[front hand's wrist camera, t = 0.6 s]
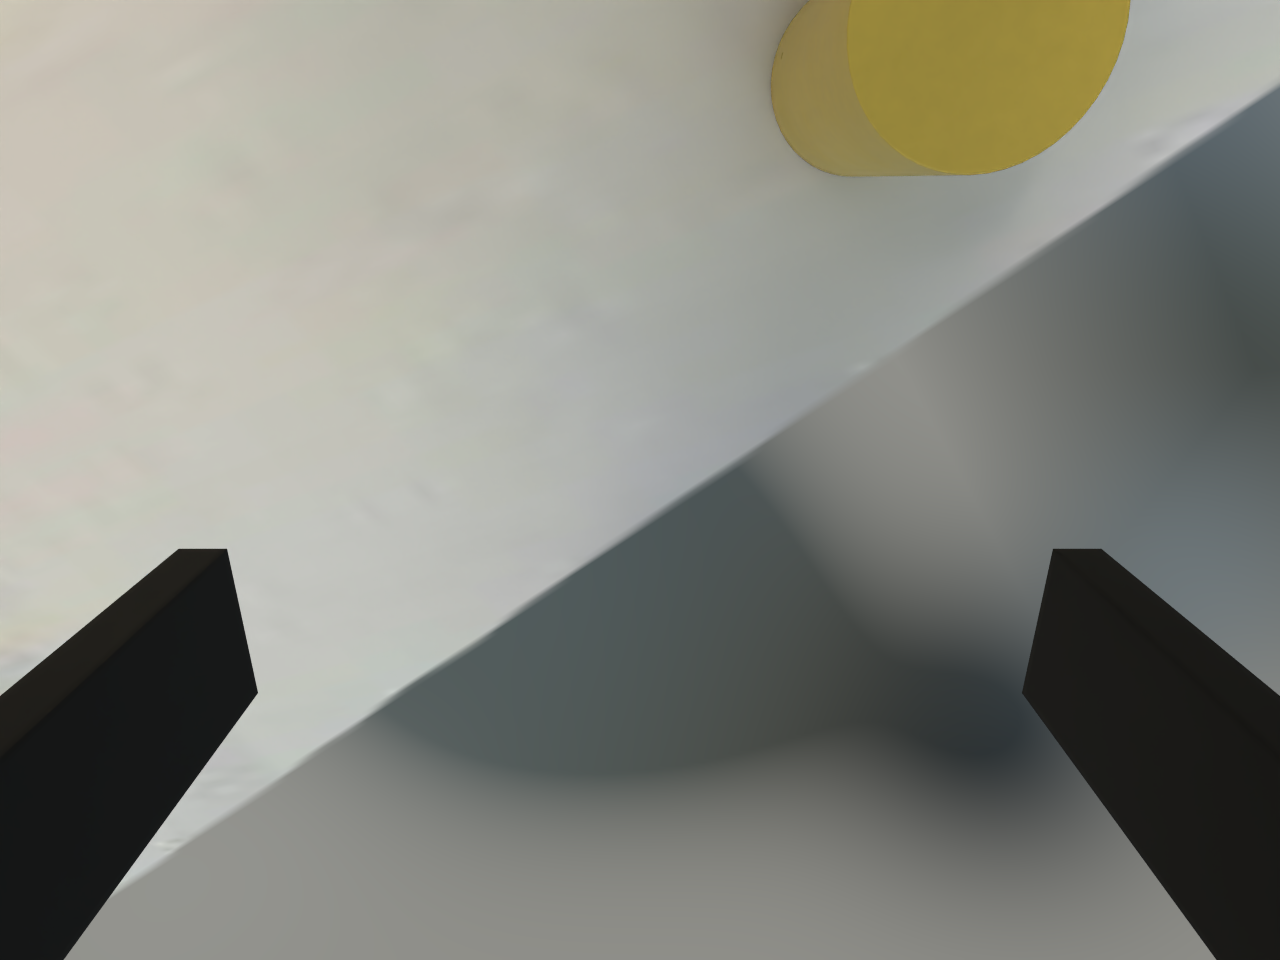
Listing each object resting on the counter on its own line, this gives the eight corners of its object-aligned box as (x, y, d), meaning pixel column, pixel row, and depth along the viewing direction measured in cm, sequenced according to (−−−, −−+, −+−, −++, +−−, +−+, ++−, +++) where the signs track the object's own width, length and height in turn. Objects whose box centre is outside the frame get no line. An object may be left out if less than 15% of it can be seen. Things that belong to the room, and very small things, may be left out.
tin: (734, 102, 31) (789, 59, 20) (852, -67, 29) (988, -222, 18) (866, 212, 32) (988, 229, 21) (987, 59, 30) (1191, -12, 19)
